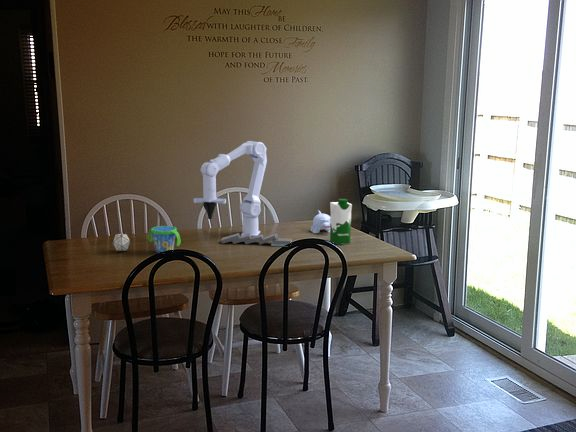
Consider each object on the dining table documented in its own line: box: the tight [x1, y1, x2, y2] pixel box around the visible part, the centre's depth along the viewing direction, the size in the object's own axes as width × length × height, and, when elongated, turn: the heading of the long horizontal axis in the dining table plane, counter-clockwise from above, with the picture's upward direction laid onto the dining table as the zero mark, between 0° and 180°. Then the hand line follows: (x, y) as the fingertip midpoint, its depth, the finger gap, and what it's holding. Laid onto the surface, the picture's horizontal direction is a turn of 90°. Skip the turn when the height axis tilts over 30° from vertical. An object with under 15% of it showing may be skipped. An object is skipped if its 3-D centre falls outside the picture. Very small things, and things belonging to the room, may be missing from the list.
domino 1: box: [220, 232, 241, 245], centre depth 281 cm, size 2×5×8 cm
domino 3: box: [243, 233, 264, 245], centre depth 280 cm, size 2×5×8 cm
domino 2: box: [231, 234, 252, 245], centre depth 281 cm, size 2×5×8 cm
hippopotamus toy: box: [309, 209, 331, 234], centre depth 304 cm, size 11×15×10 cm
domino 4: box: [257, 232, 279, 245], centre depth 279 cm, size 2×5×8 cm
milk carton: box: [329, 198, 353, 245], centre depth 281 cm, size 9×9×20 cm
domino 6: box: [271, 237, 293, 245], centre depth 277 cm, size 2×5×8 cm
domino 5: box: [270, 242, 285, 247], centre depth 278 cm, size 2×5×8 cm
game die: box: [110, 232, 133, 253], centre depth 264 cm, size 9×8×10 cm
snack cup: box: [147, 225, 182, 254], centre depth 264 cm, size 16×10×10 cm
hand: (210, 218), depth 284 cm, fingers closed
